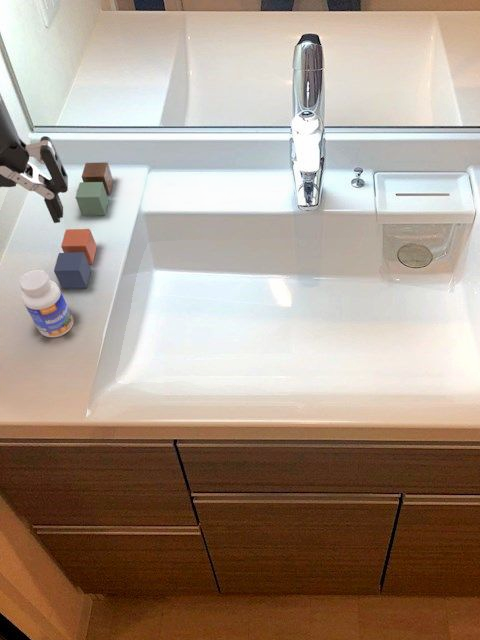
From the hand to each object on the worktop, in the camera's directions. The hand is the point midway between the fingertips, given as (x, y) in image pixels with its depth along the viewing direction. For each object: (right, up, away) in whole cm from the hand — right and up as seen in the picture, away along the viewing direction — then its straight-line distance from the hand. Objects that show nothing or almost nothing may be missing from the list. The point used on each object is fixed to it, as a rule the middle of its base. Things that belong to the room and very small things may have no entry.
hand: (22, 224), depth 79 cm
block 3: (-2, +2, +27) cm, 27 cm away
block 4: (-2, -2, +24) cm, 24 cm away
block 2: (-2, +12, +33) cm, 35 cm away
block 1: (-2, +17, +36) cm, 40 cm away
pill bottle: (-3, -11, +18) cm, 21 cm away
